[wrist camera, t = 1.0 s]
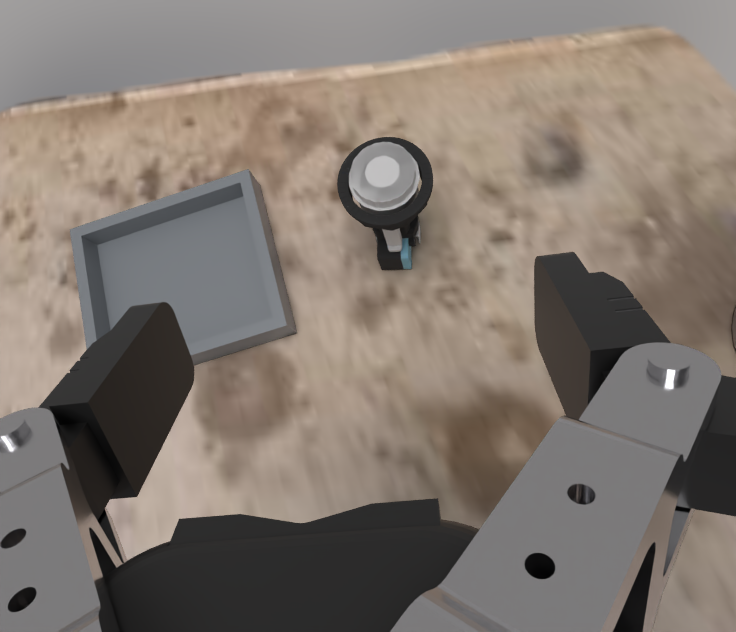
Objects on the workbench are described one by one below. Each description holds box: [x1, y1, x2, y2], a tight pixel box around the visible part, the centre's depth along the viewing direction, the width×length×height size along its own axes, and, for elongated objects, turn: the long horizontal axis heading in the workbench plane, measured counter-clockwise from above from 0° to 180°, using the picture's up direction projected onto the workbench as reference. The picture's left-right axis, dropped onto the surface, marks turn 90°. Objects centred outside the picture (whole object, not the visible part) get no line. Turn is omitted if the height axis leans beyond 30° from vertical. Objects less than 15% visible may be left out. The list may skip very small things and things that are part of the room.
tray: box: [70, 169, 297, 365], centre depth 40 cm, size 14×12×2 cm
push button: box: [337, 137, 433, 270], centre depth 35 cm, size 7×5×10 cm
